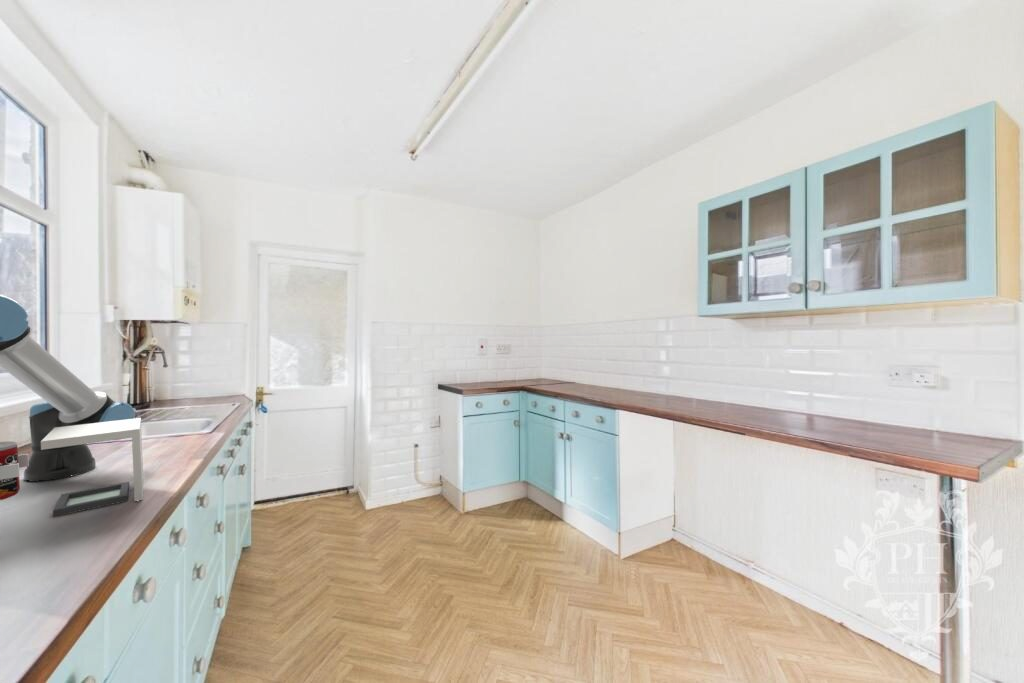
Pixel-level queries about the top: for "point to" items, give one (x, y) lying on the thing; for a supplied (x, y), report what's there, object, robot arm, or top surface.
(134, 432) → the shelf
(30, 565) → the top surface
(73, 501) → the grey picture frame
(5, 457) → the canned food
